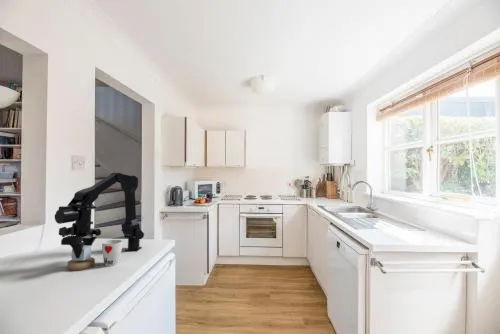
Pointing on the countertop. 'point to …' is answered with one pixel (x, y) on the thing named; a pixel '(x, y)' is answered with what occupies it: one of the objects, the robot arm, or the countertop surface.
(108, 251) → the cup
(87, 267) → the brown shallow bowl
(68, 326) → the countertop surface
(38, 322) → the countertop surface
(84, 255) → the block
